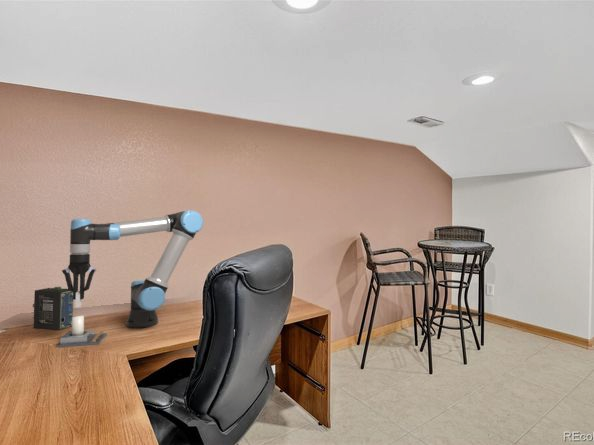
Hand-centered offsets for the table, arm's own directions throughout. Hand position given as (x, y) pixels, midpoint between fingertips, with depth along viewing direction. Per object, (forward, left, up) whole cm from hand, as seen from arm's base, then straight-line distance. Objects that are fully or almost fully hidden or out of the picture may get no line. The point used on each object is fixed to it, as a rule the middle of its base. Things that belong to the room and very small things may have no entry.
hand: (78, 306), depth 150 cm
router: (+19, -27, -16) cm, 37 cm away
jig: (-2, 0, -15) cm, 16 cm away
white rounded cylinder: (0, 0, -14) cm, 14 cm away
